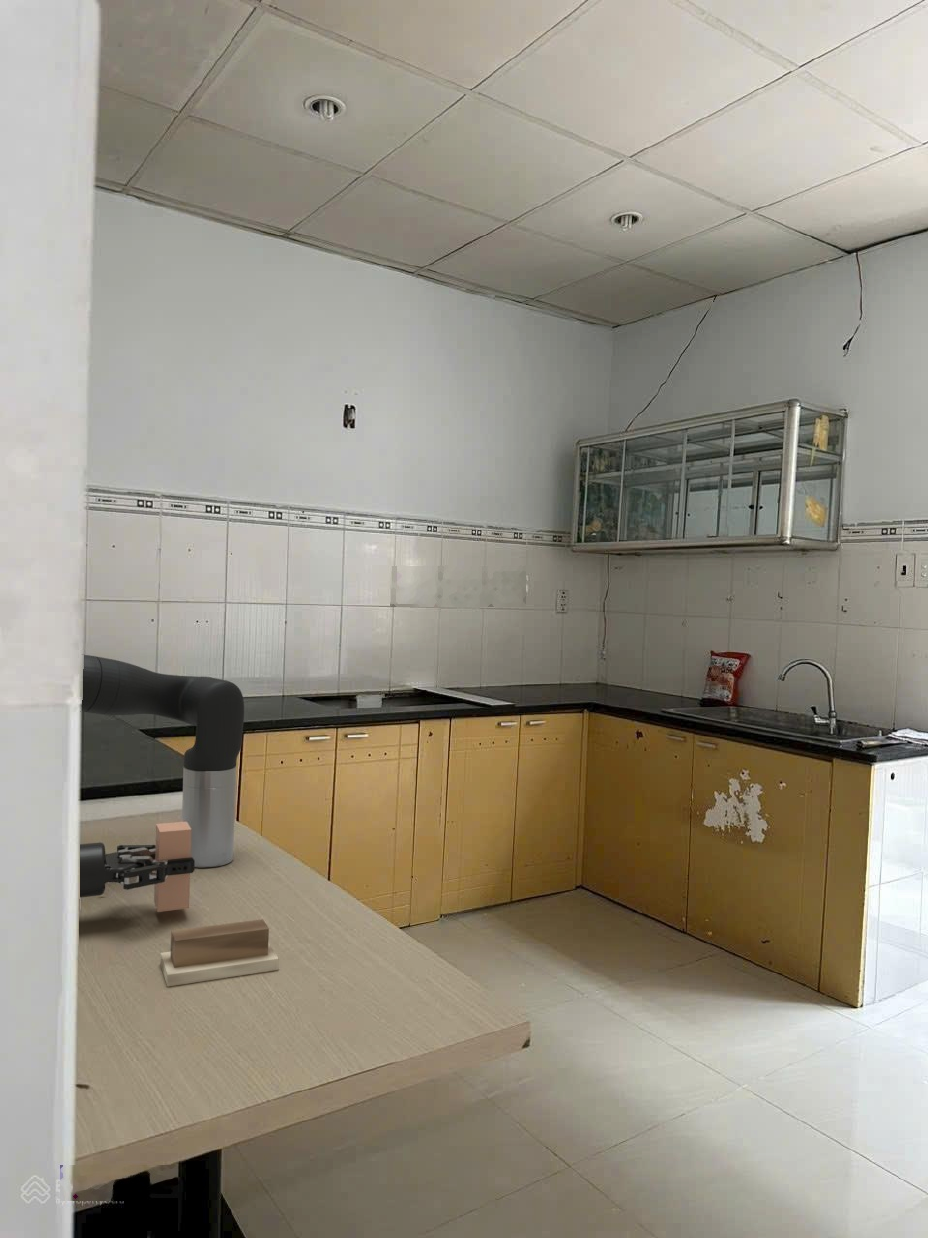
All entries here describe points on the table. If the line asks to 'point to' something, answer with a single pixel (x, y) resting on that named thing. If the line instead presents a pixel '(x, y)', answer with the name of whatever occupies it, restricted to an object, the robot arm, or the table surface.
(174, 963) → the stand
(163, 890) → the block
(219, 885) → the table surface
